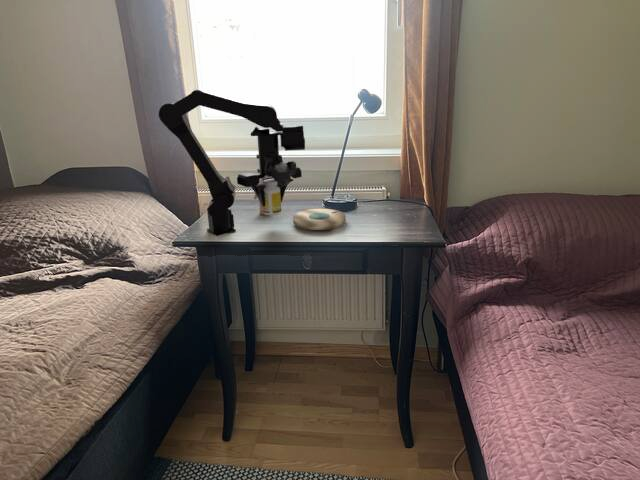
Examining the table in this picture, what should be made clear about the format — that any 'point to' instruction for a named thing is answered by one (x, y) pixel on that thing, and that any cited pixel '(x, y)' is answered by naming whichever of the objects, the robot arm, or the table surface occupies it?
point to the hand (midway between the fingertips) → (271, 204)
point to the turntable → (319, 219)
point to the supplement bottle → (272, 198)
